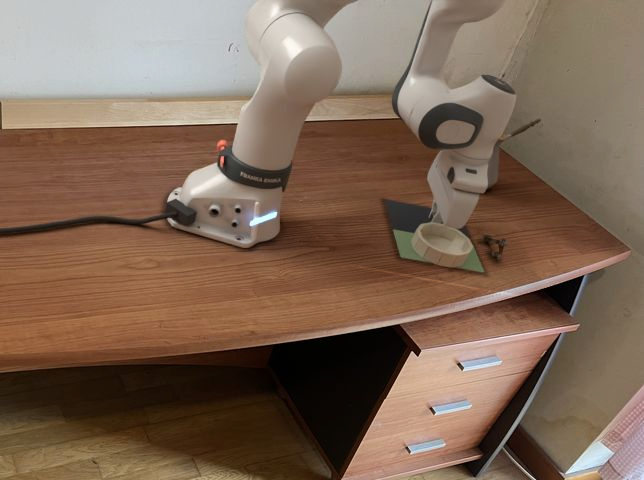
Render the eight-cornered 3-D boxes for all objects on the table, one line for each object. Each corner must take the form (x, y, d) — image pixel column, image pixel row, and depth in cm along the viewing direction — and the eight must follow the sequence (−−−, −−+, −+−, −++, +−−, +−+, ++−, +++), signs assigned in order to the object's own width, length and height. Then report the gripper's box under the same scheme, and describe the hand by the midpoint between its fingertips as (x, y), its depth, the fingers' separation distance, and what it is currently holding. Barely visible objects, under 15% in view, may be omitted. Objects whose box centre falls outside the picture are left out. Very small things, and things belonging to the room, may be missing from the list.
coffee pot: (468, 198, 163) (498, 137, 153) (433, 173, 170) (461, 113, 160) (529, 188, 172) (561, 130, 162) (494, 164, 179) (523, 107, 169)
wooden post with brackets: (496, 261, 142) (503, 239, 141) (477, 253, 150) (483, 232, 149) (505, 262, 143) (511, 240, 141) (485, 254, 150) (491, 233, 149)
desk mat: (399, 258, 139) (400, 257, 139) (383, 200, 155) (384, 199, 155) (483, 274, 140) (484, 272, 140) (459, 215, 156) (459, 213, 156)
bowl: (416, 261, 138) (423, 248, 136) (407, 230, 147) (412, 218, 145) (471, 271, 139) (478, 259, 137) (458, 240, 147) (465, 228, 145)
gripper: (436, 135, 146) (410, 194, 156) (457, 184, 131) (427, 246, 140) (466, 141, 147) (438, 199, 156) (490, 190, 132) (458, 252, 141)
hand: (433, 222), depth 148 cm, fingers closed
